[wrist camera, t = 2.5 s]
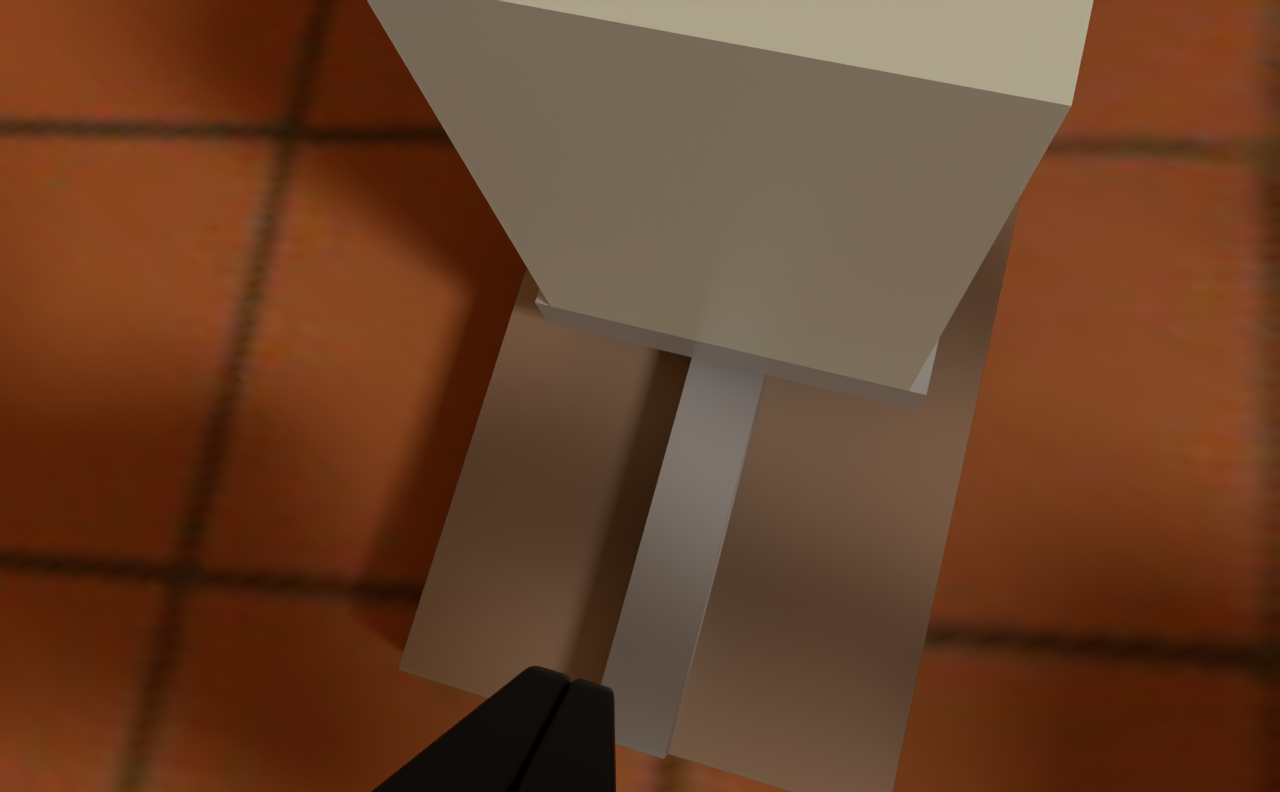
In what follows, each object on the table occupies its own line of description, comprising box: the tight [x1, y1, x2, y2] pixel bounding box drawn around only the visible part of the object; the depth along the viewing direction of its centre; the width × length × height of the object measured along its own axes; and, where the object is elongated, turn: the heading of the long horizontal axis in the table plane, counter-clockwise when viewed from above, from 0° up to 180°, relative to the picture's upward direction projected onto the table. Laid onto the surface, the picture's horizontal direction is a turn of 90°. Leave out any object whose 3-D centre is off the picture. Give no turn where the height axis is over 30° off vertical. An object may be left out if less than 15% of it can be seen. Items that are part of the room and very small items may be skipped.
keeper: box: [367, 0, 1093, 411], centre depth 12 cm, size 4×6×9 cm, turn 74°
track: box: [398, 195, 1021, 792], centre depth 15 cm, size 18×8×8 cm, turn 164°
